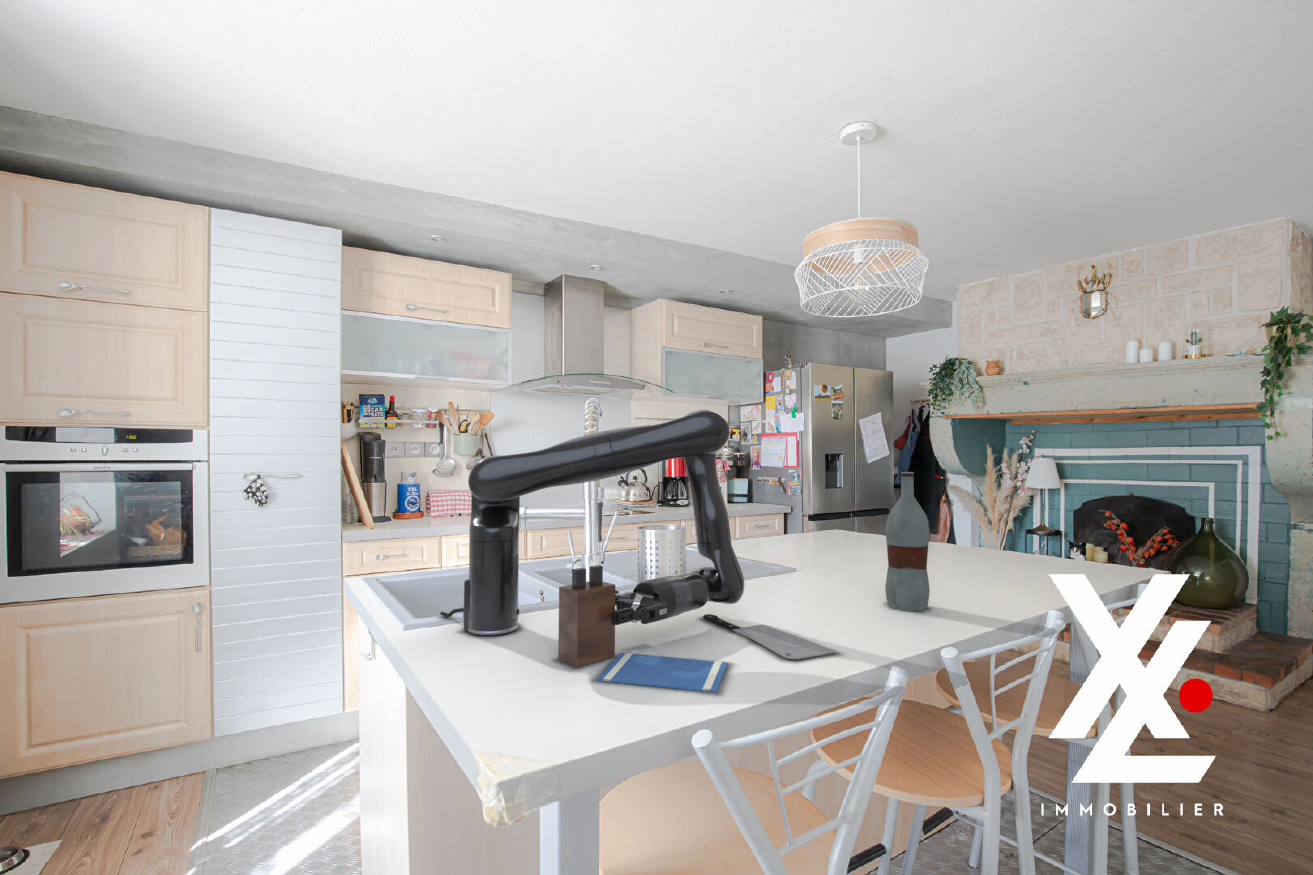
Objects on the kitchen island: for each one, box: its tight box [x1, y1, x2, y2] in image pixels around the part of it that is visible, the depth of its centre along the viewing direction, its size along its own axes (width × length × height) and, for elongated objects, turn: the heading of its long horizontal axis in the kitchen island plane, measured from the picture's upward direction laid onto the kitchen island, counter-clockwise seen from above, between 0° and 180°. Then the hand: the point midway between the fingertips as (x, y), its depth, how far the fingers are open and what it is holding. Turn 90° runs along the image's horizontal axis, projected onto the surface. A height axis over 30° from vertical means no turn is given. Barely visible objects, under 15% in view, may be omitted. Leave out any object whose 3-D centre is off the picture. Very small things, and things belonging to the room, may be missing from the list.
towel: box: [597, 652, 728, 694], centre depth 98 cm, size 18×12×1 cm, turn 76°
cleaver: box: [702, 613, 837, 660], centre depth 118 cm, size 29×1×10 cm
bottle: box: [884, 471, 931, 612], centre depth 140 cm, size 9×9×30 cm
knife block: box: [557, 564, 616, 669], centre depth 104 cm, size 5×8×15 cm, turn 135°
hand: (596, 613), depth 106 cm, fingers open, 8 cm apart
